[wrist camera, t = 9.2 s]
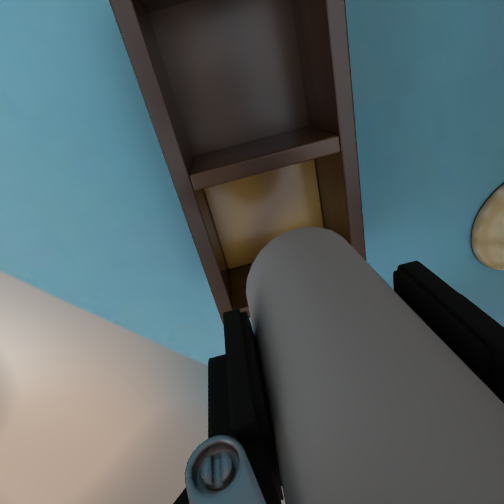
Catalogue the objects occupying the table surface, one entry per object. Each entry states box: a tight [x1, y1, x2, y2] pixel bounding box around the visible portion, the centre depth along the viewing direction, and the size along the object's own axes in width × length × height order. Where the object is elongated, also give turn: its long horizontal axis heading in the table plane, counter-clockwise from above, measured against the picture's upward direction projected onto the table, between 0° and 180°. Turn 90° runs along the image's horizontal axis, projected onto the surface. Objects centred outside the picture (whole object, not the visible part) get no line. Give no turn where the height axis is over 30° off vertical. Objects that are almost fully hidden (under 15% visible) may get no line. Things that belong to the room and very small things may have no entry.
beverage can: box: [246, 227, 504, 504], centre depth 8 cm, size 5×5×12 cm
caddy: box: [109, 0, 366, 324], centre depth 18 cm, size 9×17×6 cm, turn 14°
